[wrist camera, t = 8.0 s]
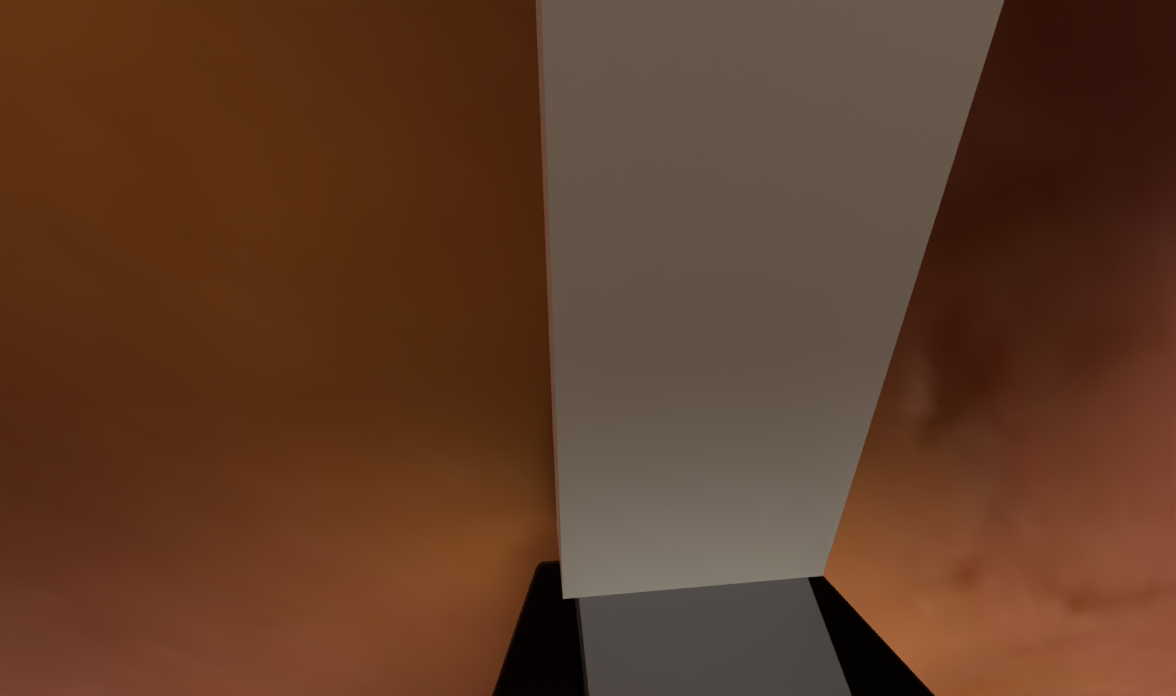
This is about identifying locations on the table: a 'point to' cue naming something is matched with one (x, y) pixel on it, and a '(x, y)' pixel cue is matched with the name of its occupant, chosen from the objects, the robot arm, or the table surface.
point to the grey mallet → (730, 308)
